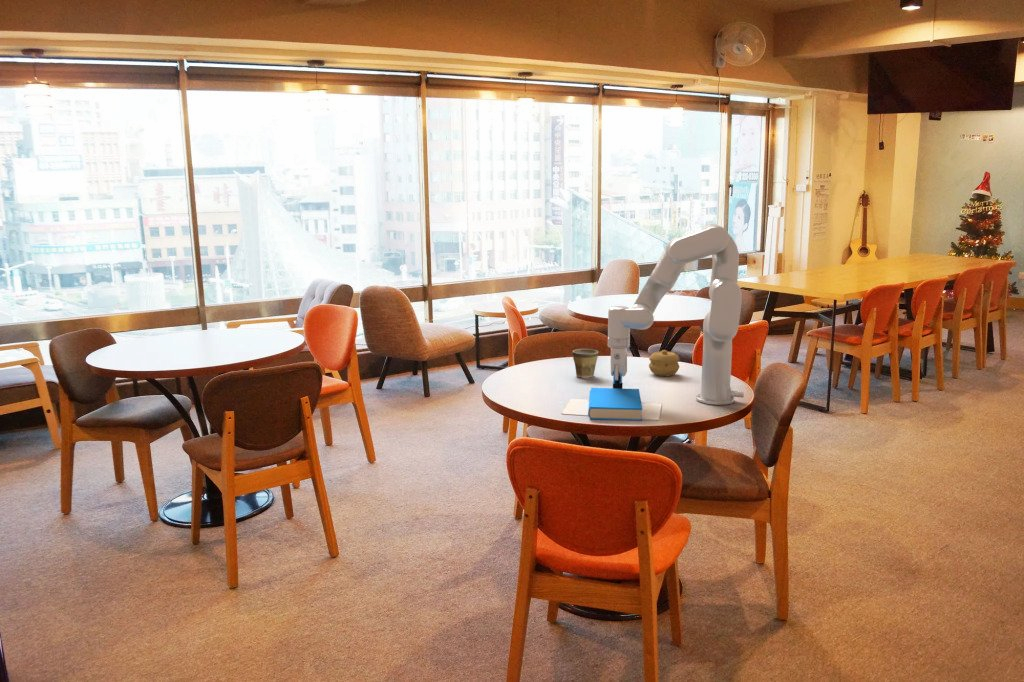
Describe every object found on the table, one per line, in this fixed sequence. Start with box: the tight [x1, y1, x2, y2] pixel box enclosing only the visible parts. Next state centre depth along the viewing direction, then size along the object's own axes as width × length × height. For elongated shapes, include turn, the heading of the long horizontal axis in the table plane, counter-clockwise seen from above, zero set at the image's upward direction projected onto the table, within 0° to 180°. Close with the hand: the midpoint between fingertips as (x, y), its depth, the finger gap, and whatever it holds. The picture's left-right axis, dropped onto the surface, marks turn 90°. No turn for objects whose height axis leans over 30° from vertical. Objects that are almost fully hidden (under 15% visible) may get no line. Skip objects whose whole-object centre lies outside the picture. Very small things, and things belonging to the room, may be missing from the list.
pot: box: [648, 349, 680, 377], centre depth 311 cm, size 12×12×10 cm
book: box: [588, 387, 643, 421], centre depth 263 cm, size 17×4×25 cm
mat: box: [561, 398, 663, 421], centre depth 263 cm, size 31×19×1 cm, turn 77°
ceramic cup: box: [572, 348, 599, 379], centre depth 310 cm, size 13×10×10 cm
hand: (617, 394), depth 277 cm, fingers closed
